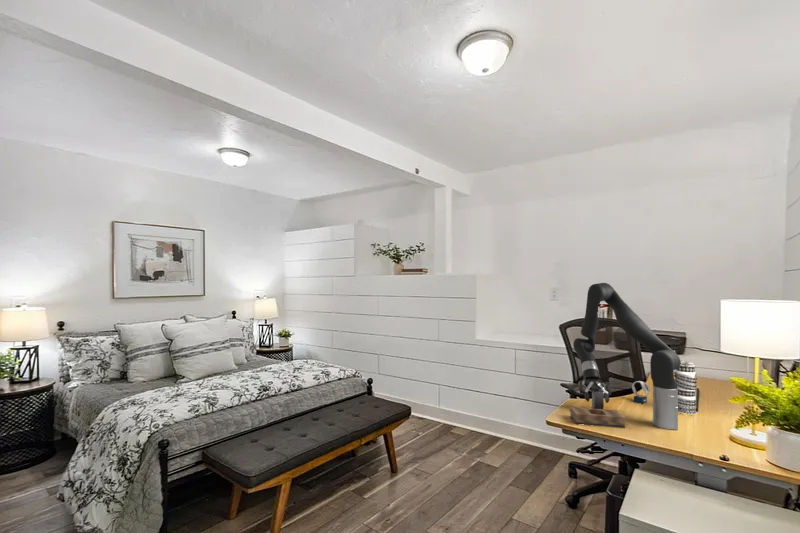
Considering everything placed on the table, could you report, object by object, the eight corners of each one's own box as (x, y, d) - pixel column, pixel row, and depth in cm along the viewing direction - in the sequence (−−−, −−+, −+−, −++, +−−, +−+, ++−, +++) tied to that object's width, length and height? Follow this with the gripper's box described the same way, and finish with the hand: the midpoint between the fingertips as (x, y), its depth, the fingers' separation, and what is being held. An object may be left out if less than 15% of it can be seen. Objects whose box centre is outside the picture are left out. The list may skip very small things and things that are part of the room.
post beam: (616, 420, 184) (616, 410, 184) (625, 428, 174) (625, 417, 174) (570, 416, 187) (570, 407, 187) (576, 424, 177) (576, 414, 177)
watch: (647, 405, 207) (647, 384, 208) (630, 401, 214) (630, 380, 214) (651, 403, 211) (651, 382, 211) (634, 399, 217) (634, 379, 218)
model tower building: (673, 408, 203) (673, 359, 203) (696, 412, 198) (695, 361, 199) (674, 413, 195) (674, 362, 196) (698, 417, 190) (698, 364, 191)
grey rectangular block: (600, 413, 193) (600, 390, 194) (603, 415, 189) (603, 392, 190) (591, 412, 194) (591, 389, 194) (594, 415, 190) (594, 391, 191)
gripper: (577, 367, 202) (583, 396, 190) (607, 368, 200) (615, 398, 188) (574, 375, 207) (580, 404, 195) (603, 377, 205) (611, 406, 193)
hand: (597, 401), depth 192 cm, fingers open, 8 cm apart
